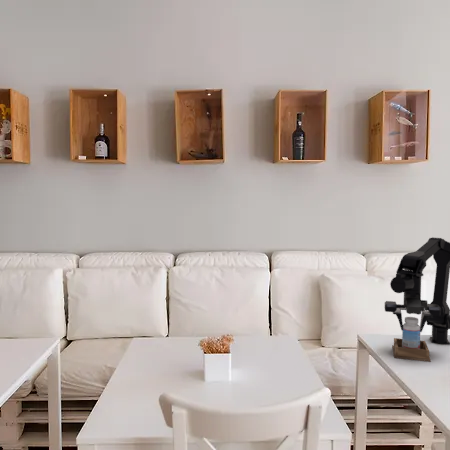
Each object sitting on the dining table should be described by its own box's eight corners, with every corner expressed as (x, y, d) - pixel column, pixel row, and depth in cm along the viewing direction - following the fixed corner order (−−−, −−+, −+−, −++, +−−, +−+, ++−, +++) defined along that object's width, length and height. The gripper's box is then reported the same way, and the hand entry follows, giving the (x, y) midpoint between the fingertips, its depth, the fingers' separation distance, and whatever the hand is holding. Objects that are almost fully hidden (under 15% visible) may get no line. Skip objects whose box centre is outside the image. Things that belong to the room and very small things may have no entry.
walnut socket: (392, 347, 169) (392, 337, 169) (426, 350, 165) (426, 340, 165) (394, 358, 158) (394, 347, 157) (430, 361, 154) (430, 351, 154)
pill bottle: (422, 351, 158) (423, 320, 158) (405, 351, 159) (406, 320, 158) (415, 345, 164) (416, 316, 164) (399, 345, 165) (400, 316, 164)
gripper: (386, 292, 155) (385, 335, 156) (444, 295, 149) (442, 340, 151) (384, 286, 166) (384, 326, 167) (439, 289, 160) (437, 330, 161)
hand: (411, 331), depth 161 cm, fingers closed on pill bottle, 6 cm apart
